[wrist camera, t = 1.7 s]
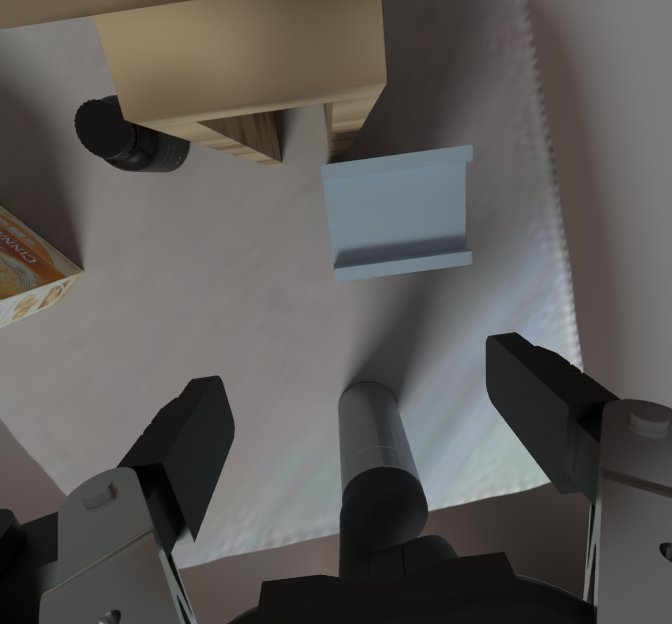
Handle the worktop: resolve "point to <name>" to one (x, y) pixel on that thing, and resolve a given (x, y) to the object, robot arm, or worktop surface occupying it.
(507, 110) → the worktop surface
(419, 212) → the tall grey pillar
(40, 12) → the rail
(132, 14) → the slotted wooden post
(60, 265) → the coffeecake box
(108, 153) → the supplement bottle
